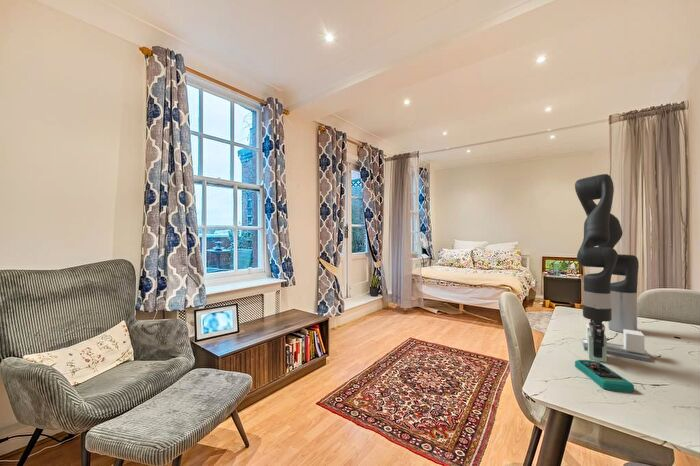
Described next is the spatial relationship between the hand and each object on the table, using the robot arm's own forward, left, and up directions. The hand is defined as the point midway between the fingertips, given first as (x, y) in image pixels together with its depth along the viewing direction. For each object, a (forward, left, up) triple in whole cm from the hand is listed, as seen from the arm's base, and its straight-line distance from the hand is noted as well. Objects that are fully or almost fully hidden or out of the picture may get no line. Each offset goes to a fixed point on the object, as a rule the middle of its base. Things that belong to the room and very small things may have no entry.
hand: (596, 353), depth 99 cm
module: (0, 0, -1) cm, 1 cm away
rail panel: (-11, +5, -1) cm, 12 cm away
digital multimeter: (+17, 0, -2) cm, 17 cm away
